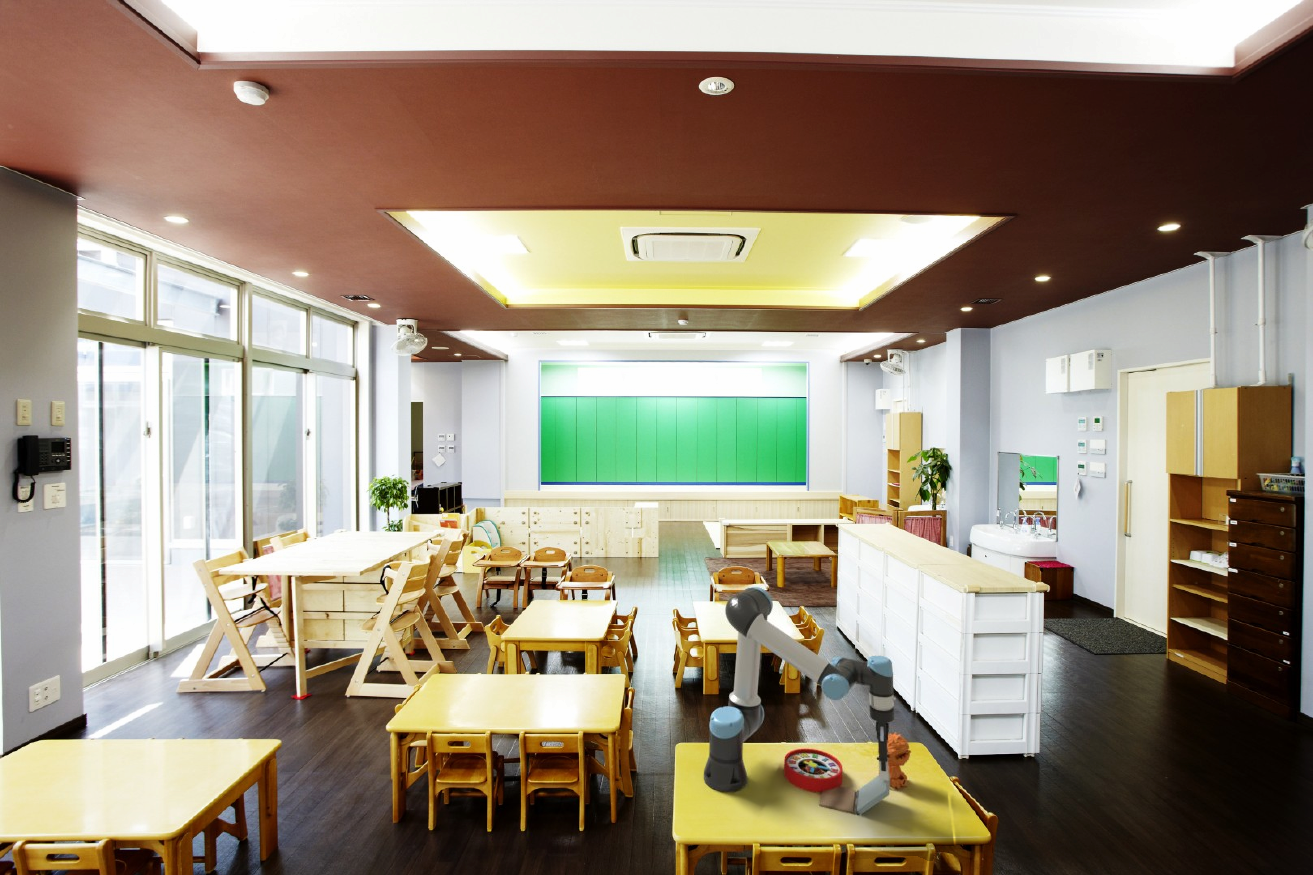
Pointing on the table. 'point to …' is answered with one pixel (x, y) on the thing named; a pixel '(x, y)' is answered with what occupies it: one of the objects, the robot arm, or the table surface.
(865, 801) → the hinge leaf
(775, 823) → the table surface
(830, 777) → the toy clock
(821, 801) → the hinge base
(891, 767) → the orange figurine
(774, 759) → the table surface
